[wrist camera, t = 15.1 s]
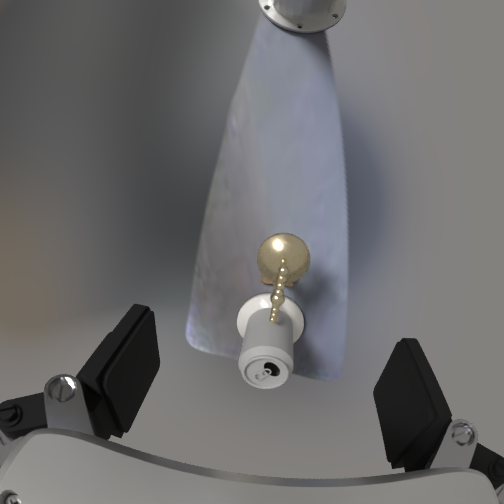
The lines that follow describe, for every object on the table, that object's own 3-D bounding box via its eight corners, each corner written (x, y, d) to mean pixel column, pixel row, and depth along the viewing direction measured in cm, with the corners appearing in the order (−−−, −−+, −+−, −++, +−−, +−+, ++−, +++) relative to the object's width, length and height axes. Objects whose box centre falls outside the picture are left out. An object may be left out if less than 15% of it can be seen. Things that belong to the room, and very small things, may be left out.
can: (300, 331, 47) (303, 383, 36) (261, 347, 49) (255, 398, 38) (279, 297, 45) (276, 346, 34) (238, 316, 47) (225, 365, 36)
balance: (265, 210, 41) (257, 241, 29) (307, 215, 41) (317, 249, 28) (256, 293, 46) (245, 347, 34) (293, 298, 46) (294, 353, 34)
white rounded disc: (240, 288, 46) (239, 291, 45) (309, 297, 46) (309, 300, 45) (235, 341, 50) (234, 345, 49) (297, 349, 50) (297, 353, 49)
